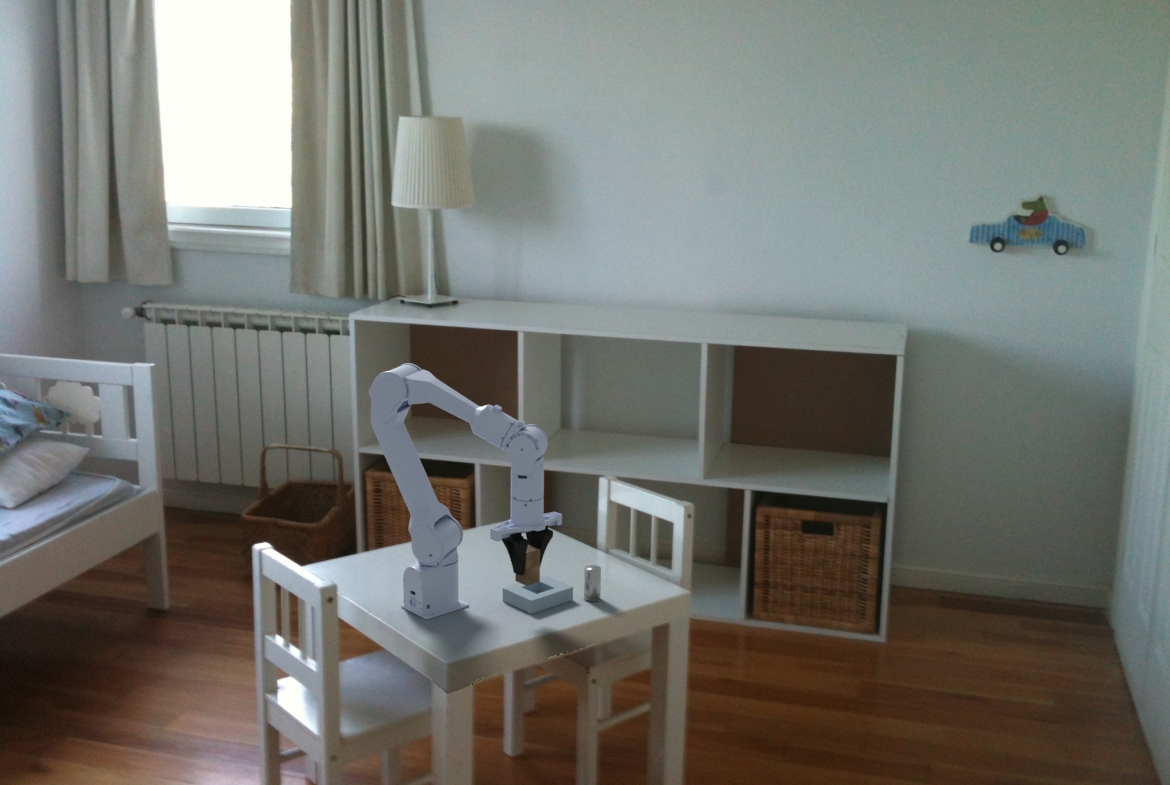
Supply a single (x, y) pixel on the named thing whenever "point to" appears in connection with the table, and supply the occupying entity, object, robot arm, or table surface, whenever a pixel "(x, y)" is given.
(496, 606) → the table surface
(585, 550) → the table surface
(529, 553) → the square bit
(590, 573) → the cylinder
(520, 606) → the socket block
